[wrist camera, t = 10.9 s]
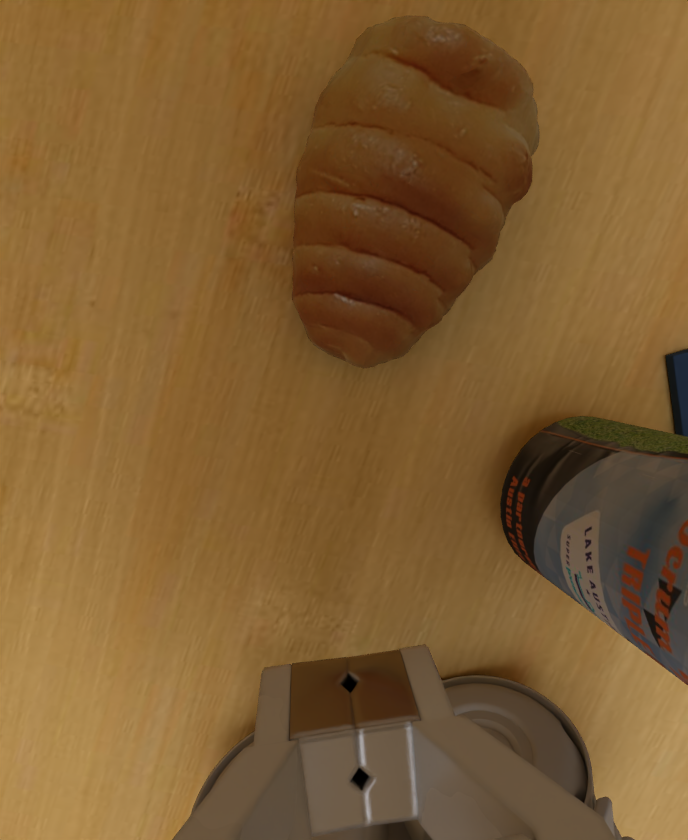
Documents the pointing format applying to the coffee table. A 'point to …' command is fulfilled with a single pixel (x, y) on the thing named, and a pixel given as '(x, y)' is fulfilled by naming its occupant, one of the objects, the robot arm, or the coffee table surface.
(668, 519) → the beverage can
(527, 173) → the pastry
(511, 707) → the toy tank
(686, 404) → the book
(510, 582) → the coffee table surface
